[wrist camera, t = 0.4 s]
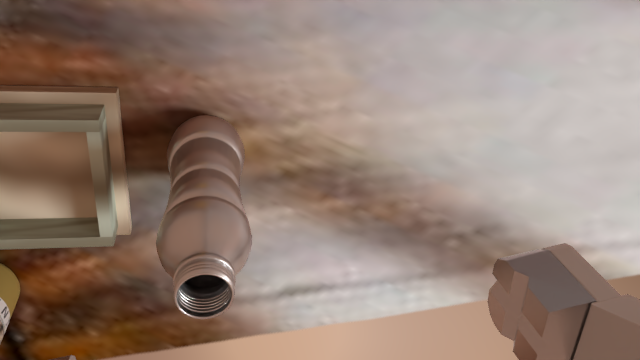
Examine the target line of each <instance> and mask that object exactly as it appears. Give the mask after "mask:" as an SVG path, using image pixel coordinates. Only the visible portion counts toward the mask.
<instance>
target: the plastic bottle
mask: <svg viewBox="0 0 640 360" xmlns="http://www.w3.org/2000/svg"><path fill="white" fill-rule="evenodd" d="M244 157H245V155H244V146H243V143H242V141H241V139H240V137H239V135H238V132H237V131H236V130H235V128H234V127H233V126H232V125H231V124H230V123H229V122H227V121H225V120H224V119H222V118H219V117H216V116H210V115H201V116H196V117H193V118H191V119H188V120H187V121H185V122H184V123H182V124H181V125H180V126H179V127H178V128H177V129H176V131H175V132H174V134H173V136H172V138H171V140H170V142H169V145H168V148H167V162H168V169H169V172H170V178H171V190H170V195H169V200H168V205H167V208H166V211H165V213H164V216H163V219H162V221H161V224H160V226H159V230H158V234H157V240H156V247H157V252H158V255H159V258H160V261H161V264H162V266H163V267H164V269H165V271H166V272H167V273H168V274H169V275H170V276H171V277H172V278H173V287H174V301H175V304H176V306H177V308H178V309H179V310H180V311H181V312H182V313H183V314H185V315H186V316H189V317H191V318H196V319H209V318H213V317H216V316H219V315H221V314H222V313H224V312H225V311H226V310H227V309H228V308H229V307H230V306H231V304H232V302H233V299H234V295H235V290H234V286H235V276H236V275H237V274H238V273H239V272H240V271H241V269H242V268H243V267H244V265H245V263H246V261H247V259H248V256H249V253H250V250H251V246H252V235H251V230H250V226H249V222H248V219H247V216H246V213H245V210H244V207H243V204H242V199H241V194H240V177H241V173H242V169H243V164H244Z"/></svg>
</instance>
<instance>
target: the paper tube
mask: <svg viewBox="0 0 640 360" xmlns="http://www.w3.org/2000/svg"><path fill="white" fill-rule="evenodd" d="M19 294H20V284H19V281H18V279H17V278H16V276H15V274H14V273H13V272H12V271H11V270H10V269H9V268H8V267H6V266H5V265H3V264H1V263H0V343H1V341H2V338H3V336H4V333H5V331H6V328H7V326H8V323H9V320H10V318H11V315H12V313H13V310H14V308H15V305H16V303H17V300H18V298H19Z"/></svg>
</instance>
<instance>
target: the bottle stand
mask: <svg viewBox="0 0 640 360" xmlns="http://www.w3.org/2000/svg"><path fill="white" fill-rule="evenodd" d="M131 229H132V223H131V213H130V202H129V192H128V182H127V172H126V162H125V152H124V142H123V131H122V121H121V111H120V101H119V91H118V87H67V86H7V85H0V249H31V248H64V247H98V246H114V242H115V238H116V235H130V234H131Z"/></svg>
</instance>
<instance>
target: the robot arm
mask: <svg viewBox="0 0 640 360" xmlns="http://www.w3.org/2000/svg"><path fill="white" fill-rule="evenodd" d="M492 274H493V275H494V276H495V278H496V279H497V281H496V283H495V284H494V285H493V286H492V287H491V288H490V290H489V296H488V306H489V311H490V315H491V318H492V320H493V322H494V324H495V326H496V327H497V329H498V330H499V332H500V333H501V334H502V335H504V336H505V337H507V338H509V339H511V340H513V341H514V346H513V352H514V353H515V355H516V356H517V358H518V359H519V360H640V299H638V298H635V297H633V296H631V295H628V294H627V295H622V296H621V295H620V294H619V293H618V292H617V291H616V290H615V289H614V288H613V287H612V286H611V285H610V284H609V283H608V282H607V281H606V280H605V279H604V278H603V277H602V276H601V275H600V274H599V273H598V272H597V271H596V270H595V269H594V268H593V267H592V266H591V265H590V264H589V263H588V262H587V261H586V260H585V259H584V258H583V257H582V256H581V255H580V254H579V253H578V252H577V251H576V250H575V249H574V248H573V247H572V246H570V245H568V244H565V243H564V244H560V245H555V246H551V247H547V248H543V249H538V250H533V251H529V252H525V253H521V254H517V255H512V256H508V257H504V258H500V259H498V260H497V261H496V263H495V264H494V268H493V273H492ZM50 360H76V358H75V356H71V355H70V356H65V357H60V358H55V359H50Z"/></svg>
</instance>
